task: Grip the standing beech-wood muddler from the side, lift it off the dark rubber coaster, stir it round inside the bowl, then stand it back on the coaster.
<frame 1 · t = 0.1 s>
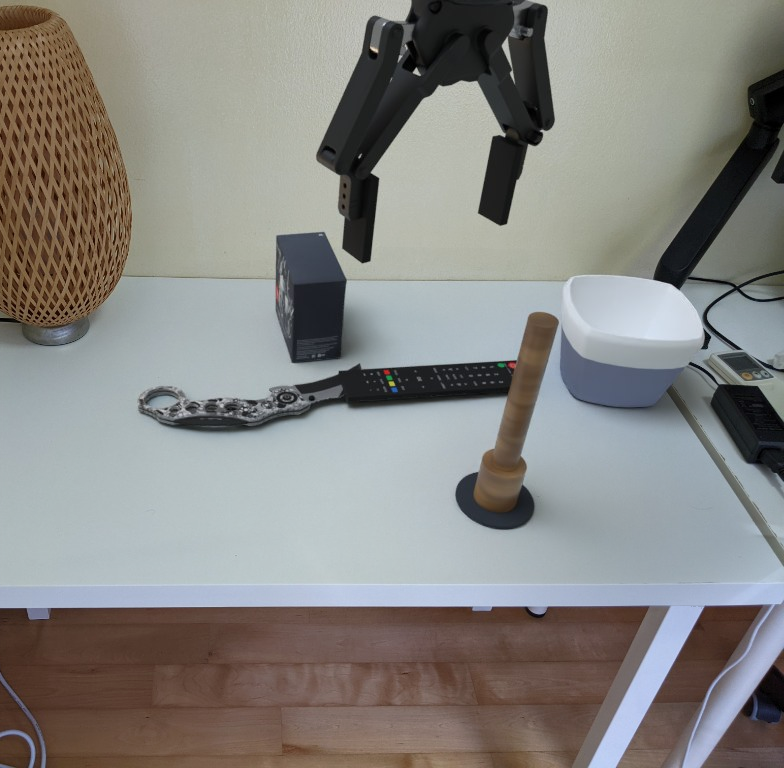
hand: (427, 236, 61), 31 cm above the table, tool pointing down, fingers open, 13 cm apart
muddler: (494, 497, 81), resting on coaster
knife: (257, 403, 93), on the table, touching remote control
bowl: (605, 382, 98), on the table
coaster: (494, 500, 81), on the table
remote control: (436, 387, 96), on the table, touching knife
small box: (306, 334, 105), on the table
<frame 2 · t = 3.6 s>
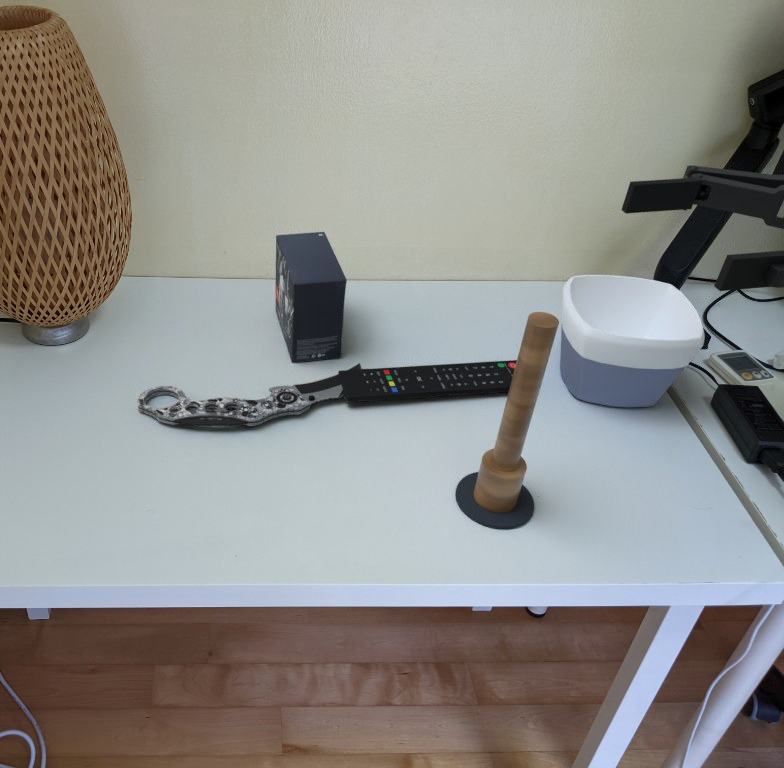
hand: (671, 232, 64), 30 cm above the table, tool horizontal, fingers open, 13 cm apart
nothing on the table moved.
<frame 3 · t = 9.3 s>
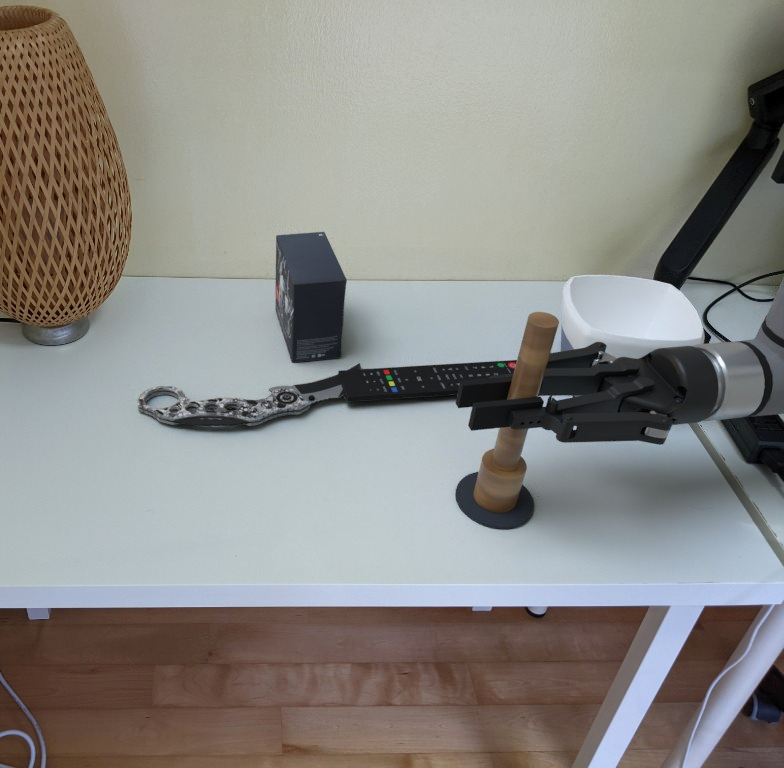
hand: (466, 405, 72), 13 cm above the table, tool horizontal, fingers closed on muddler, 3 cm apart
muddler: (494, 497, 81), resting on coaster, touching gripper
everything else where it was.
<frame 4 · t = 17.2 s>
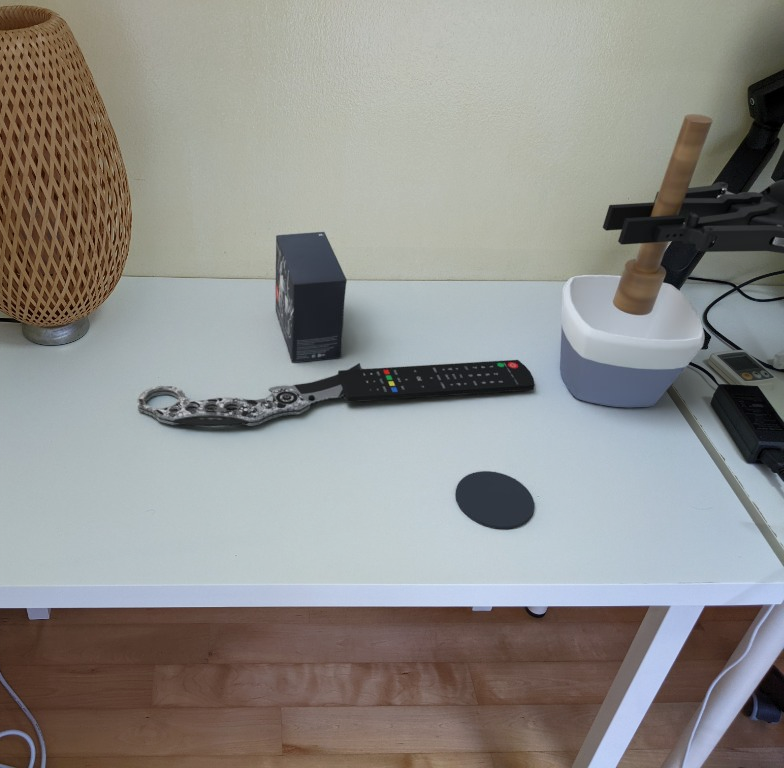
hand: (615, 224, 84), 22 cm above the table, tool horizontal, fingers closed on muddler, 3 cm apart
muddler: (632, 305, 91), point 11 cm above the table, touching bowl, gripper
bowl: (605, 382, 98), on the table, touching muddler
everything else where it was.
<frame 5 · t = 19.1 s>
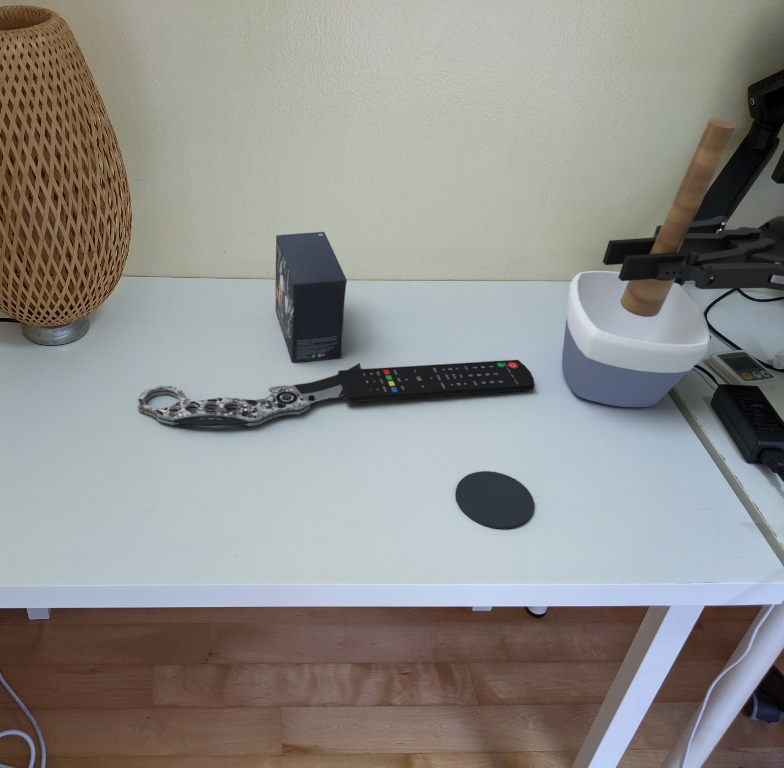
hand: (615, 260, 85), 18 cm above the table, tool horizontal, fingers closed on muddler, 3 cm apart
muddler: (639, 305, 90), point 12 cm above the table, touching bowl, gripper
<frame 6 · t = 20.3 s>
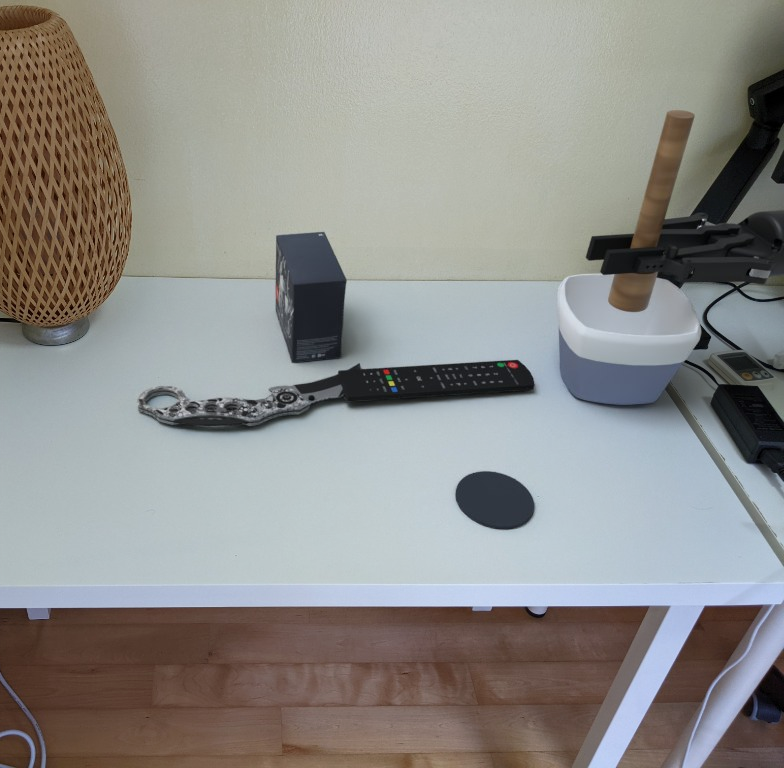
hand: (597, 255, 86), 18 cm above the table, tool horizontal, fingers closed on muddler, 3 cm apart
muddler: (627, 302, 91), point 11 cm above the table, touching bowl, gripper
when the fingers open (11 cm above the table, at t = 30.3 s): muddler drops 4 cm, resting on coaster.
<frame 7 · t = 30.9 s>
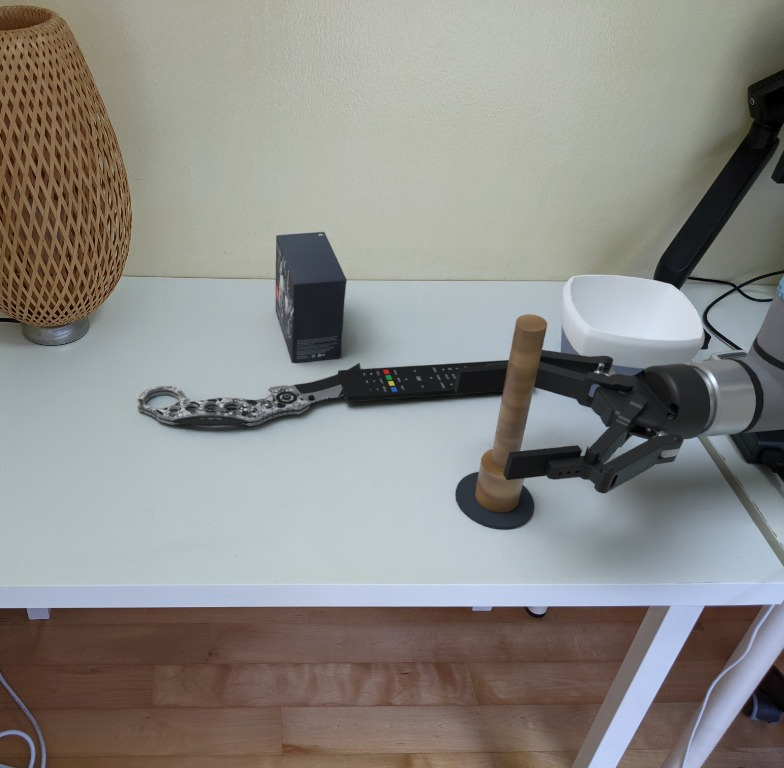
hand: (480, 420, 73), 11 cm above the table, tool horizontal, fingers open, 12 cm apart
muddler: (496, 497, 80), point 1 cm above the table, touching coaster
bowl: (606, 381, 98), on the table
everything else where it was.
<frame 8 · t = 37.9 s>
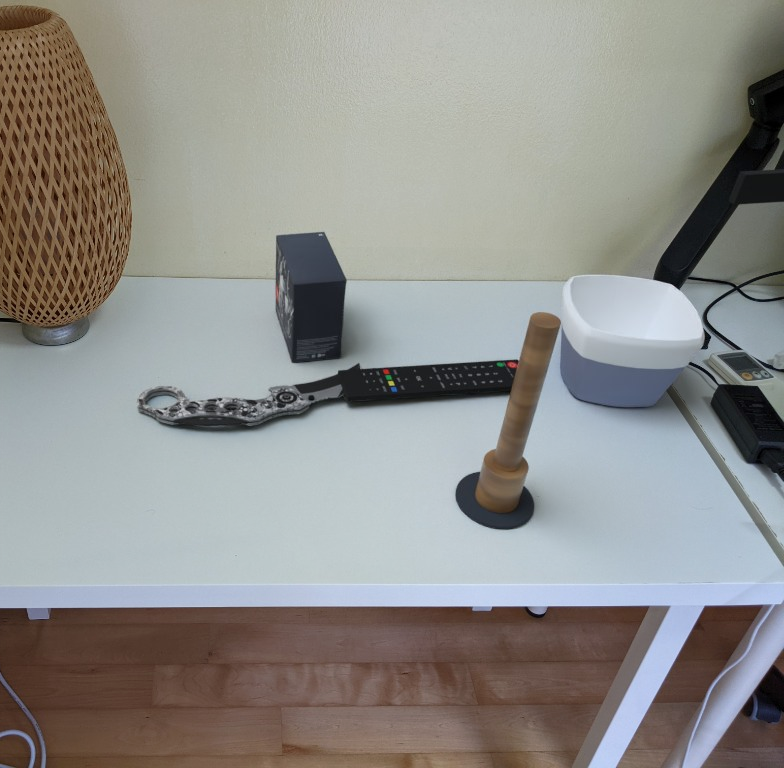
nothing on the table moved.
at the end: muddler 0.1 cm off-centre on the coaster, point 0.4 cm above the coaster's base; muddler tilted 0°; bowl moved 0.2 cm from its start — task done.
